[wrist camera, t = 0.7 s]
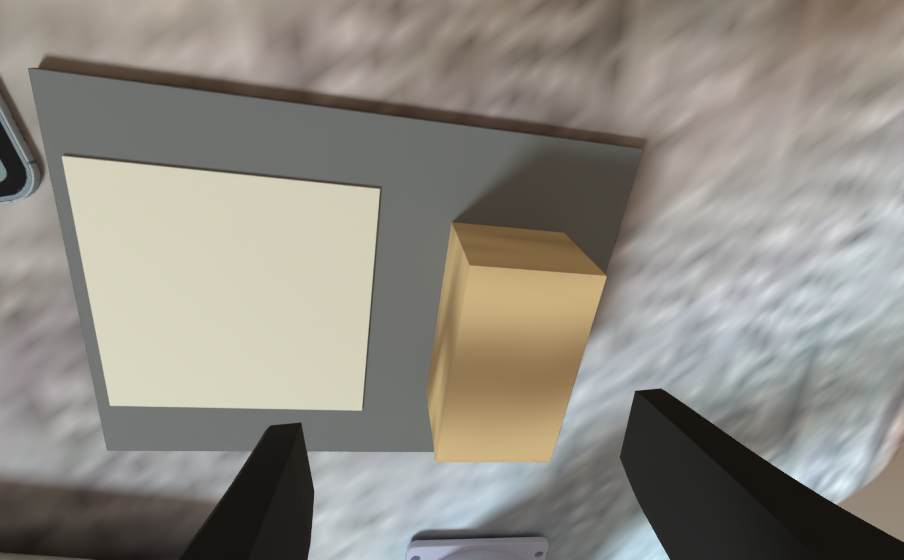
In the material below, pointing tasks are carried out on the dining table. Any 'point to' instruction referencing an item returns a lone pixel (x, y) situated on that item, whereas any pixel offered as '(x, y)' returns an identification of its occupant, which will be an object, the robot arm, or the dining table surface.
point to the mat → (284, 253)
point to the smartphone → (15, 161)
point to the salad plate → (34, 557)
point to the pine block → (508, 342)
